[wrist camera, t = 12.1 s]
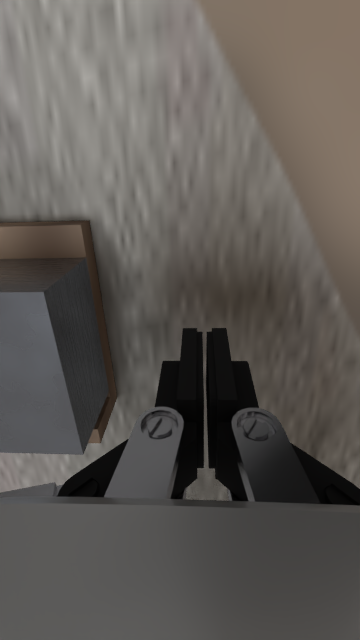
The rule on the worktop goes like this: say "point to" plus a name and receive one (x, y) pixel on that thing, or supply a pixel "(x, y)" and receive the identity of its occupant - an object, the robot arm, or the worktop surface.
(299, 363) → the worktop surface
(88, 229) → the brown wooden tray
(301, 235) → the worktop surface
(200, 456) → the robot arm
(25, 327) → the bookend
